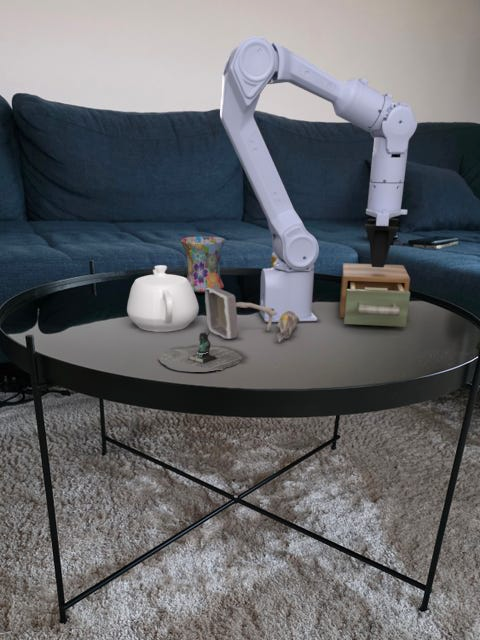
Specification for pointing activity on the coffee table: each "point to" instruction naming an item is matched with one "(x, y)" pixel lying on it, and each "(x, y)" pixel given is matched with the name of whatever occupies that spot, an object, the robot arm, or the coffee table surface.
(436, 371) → the coffee table surface
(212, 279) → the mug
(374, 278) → the cabinet
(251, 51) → the robot arm
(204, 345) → the sculpture
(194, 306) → the teapot
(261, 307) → the decorative sculpture
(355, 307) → the drawer
